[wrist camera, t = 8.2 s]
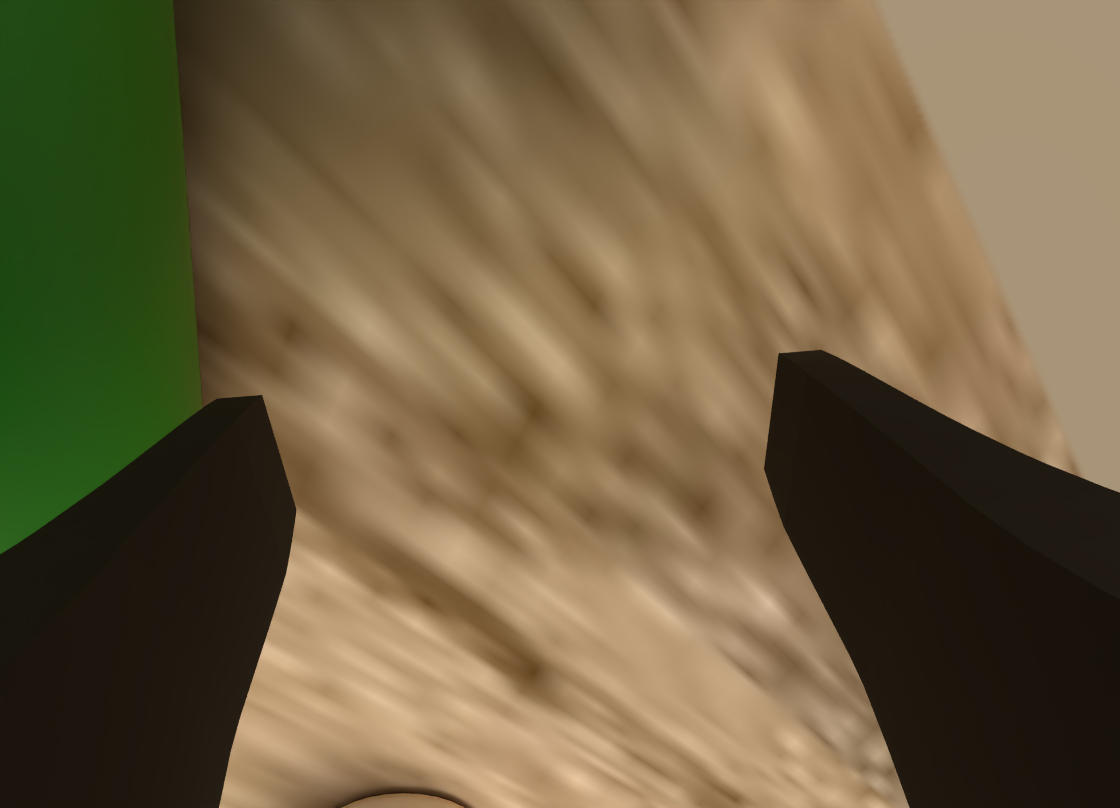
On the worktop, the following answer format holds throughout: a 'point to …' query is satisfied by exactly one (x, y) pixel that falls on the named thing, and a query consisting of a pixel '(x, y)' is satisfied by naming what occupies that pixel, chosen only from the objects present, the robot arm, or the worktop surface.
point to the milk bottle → (403, 802)
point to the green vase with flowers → (89, 250)
